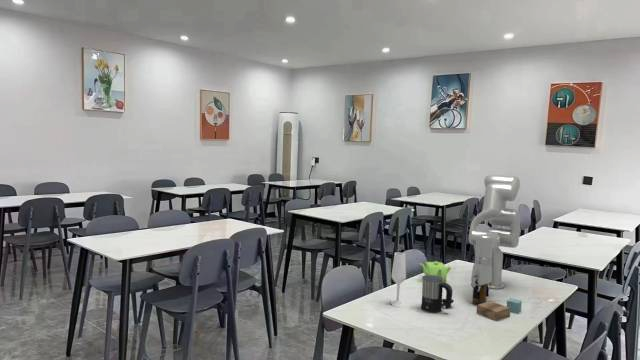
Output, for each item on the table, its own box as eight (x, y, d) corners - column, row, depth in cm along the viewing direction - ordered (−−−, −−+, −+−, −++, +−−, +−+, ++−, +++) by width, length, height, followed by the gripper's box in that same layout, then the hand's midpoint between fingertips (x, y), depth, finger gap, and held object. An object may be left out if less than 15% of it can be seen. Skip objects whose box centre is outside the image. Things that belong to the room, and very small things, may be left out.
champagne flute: (387, 303, 207) (389, 253, 205) (395, 300, 212) (397, 251, 210) (399, 307, 202) (402, 256, 200) (407, 304, 207) (410, 253, 205)
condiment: (479, 299, 217) (480, 275, 216) (492, 305, 209) (494, 280, 208) (467, 301, 214) (469, 277, 213) (481, 307, 206) (482, 282, 205)
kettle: (440, 287, 233) (441, 267, 232) (416, 281, 243) (417, 261, 242) (453, 282, 244) (454, 262, 243) (430, 276, 253) (431, 257, 253)
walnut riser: (476, 313, 198) (477, 304, 198) (489, 309, 204) (490, 300, 204) (496, 321, 190) (497, 312, 190) (509, 316, 196) (510, 307, 196)
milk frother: (419, 311, 199) (420, 278, 198) (423, 300, 214) (425, 269, 213) (451, 316, 194) (453, 283, 193) (454, 304, 209) (456, 273, 208)
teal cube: (506, 311, 203) (507, 300, 202) (509, 308, 206) (510, 297, 206) (517, 314, 199) (518, 303, 199) (520, 311, 203) (521, 300, 203)
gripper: (487, 256, 218) (484, 292, 219) (465, 260, 208) (462, 298, 209) (501, 260, 212) (498, 296, 213) (479, 264, 202) (476, 303, 203)
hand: (480, 297), depth 211 cm, fingers closed on condiment, 6 cm apart
